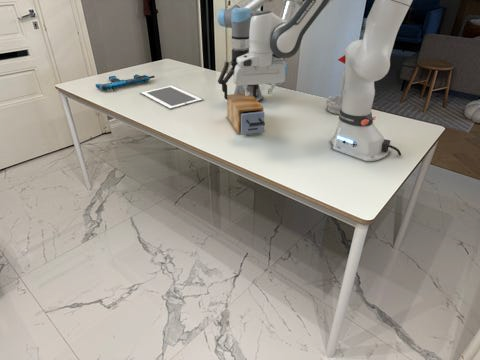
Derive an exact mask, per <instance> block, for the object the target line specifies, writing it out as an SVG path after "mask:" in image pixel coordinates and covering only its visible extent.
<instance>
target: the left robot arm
mask: <svg viewBox="0 0 480 360" xmlns="http://www.w3.org/2000/svg"><path fill="white" fill-rule="evenodd" d="M273 1H274V0H239V1H238V2H236V3H235V4H234V5H233V6H230V7H229V8H226V7H225V8H221V9H219V11H218V13H217V16H216V18H217V19H216V20H217V23H218V25H219V26H220V27H222V28H227V29H231V48H232V49H231V61H227V60H224V63H223V68H222V71H221V72H220V74H219V77H218V78H217V83H218V84H219V85H221V91H222V92H223V97H224V99H225V100H226V101H227V95H228V84H227V83H228V82H229V80H230V79H231V78H232V77H233V76H234V69H235V66H236V65H237V64H238V63H237V61H236V59H237V57H239V56H242V55H245V54H247V53H249V47H250V40H249V30H250V21H251V18H252V16H253V15H254V14H256V13H258V12H261V11H262V10H259V9H260V8H262V7H263V6H264V5H265V4H267V3H271V2H273ZM281 1H282V3H283V5H282V8H281V11H280V14H279V16H278V17H279V18H281V19H283V20H286V21H288V22H289V21H290V20H291V19H292V17H293V16H294V15H295V13H296V12H297V11H298V9H299V8H300V7H301V5H302V4H303V3H304V1H305V0H281ZM272 58H279V57H277V56H276V55H275V54H274V53H273V52H272ZM283 59H284V60H285V61H286V67H285V79H286V78H287V75H288V72H289V70H288V69H289V65H288V63H287V58H283ZM284 60H283V61H284ZM230 66H232V67H231V68H230V70H229V67H230ZM228 70H229V71H228ZM227 72H228V73H227ZM281 84H282V83H276V86H280V85H281ZM268 85H269V86H272V85H271V84H268ZM246 89H247V90H249V91H250V94H251V95H252V96H253V97H254V98H255V99H256V100H257V101H258V102H260V101H262V99H263V95H262V91H261V88H260V84H256V85H247V88H246ZM241 93H245V90H244V88H243V86H237V85H236V86H235V89H234V93H233V94H241Z"/></svg>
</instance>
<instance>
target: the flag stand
mask: <svg viewBox="0 0 480 360" xmlns="http://www.w3.org/2000/svg"><path fill="white" fill-rule="evenodd" d="M346 49H347V47H346V48H345V50H344V53H345V52H346ZM337 61H338V62H341V63H342V64H343V65H344V66H343V70H342V71H343V72H342V77H341V83H340V84H341V85H340V89H339V94H338V95H337V94H335V95H334V97H333V96H332V95H330V96H328V97H327V98H326V101H325V104H326V106H327V111H328V112H329V113H332V114H336V115H339V113H340V109H341V108H342V102H343V96H344V89H345V64H346V59H345V54H344V55H342V56H341V57H339V58H338V59H337Z"/></svg>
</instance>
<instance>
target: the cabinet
mask: <svg viewBox="0 0 480 360" xmlns="http://www.w3.org/2000/svg"><path fill="white" fill-rule="evenodd" d="M255 110H260V112H263V111H264V106H263V105H262V104H261V103H260V101H257V100H256V99H255V98H254V97H253V96H252V95H251V94H250V96H246V95H245V93H241V94H234V93H231V94H227V100H226V116H227V119H228V121H229V122H230V124H231V125H232V126H233V128H234V130H235V131H236V132H237V134H238V135H242V134H241V112H246V111H255Z"/></svg>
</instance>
